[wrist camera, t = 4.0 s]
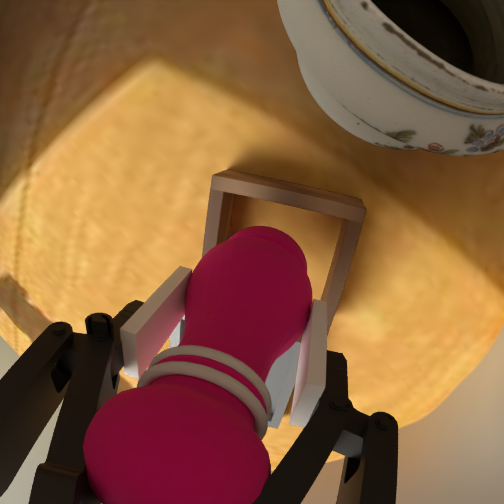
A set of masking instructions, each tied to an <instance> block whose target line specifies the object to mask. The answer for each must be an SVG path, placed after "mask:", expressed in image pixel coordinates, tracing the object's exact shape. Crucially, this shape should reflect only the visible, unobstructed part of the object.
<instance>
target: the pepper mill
mask: <svg viewBox="0 0 504 504" xmlns="http://www.w3.org/2000/svg"><path fill="white" fill-rule="evenodd" d="M311 307H312V288H311V284H310V280H309V277H308V275H307V263H306V259H305V256H304V253H303V251H302V250H301V248H300V247H299V245H298V244H297V243H296V242H295V241H294V240H293V239H292V238H291V237H290V236H289V235H287V234H286V233H284V232H282V231H280V230H278V229H275V228H272V227H266V226H253V227H248V228H245V229H242V230H240V231H238V232H236V233H235V234H234V235H232V236H231V237H230V238H229V239H228V240H227V241H225V242H223V243H220V244H218V245H216V246H215V247H213V248H212V249H210V250H209V251H208V252H207V253H206V254H205V255H204V256H203V257H202V259H201V260H200V261H199V263H198V264H197V266H196V268H195V269H194V271H193V273H192V275H191V277H190V280H189V283H188V287H187V291H186V295H185V329H184V333H183V337H182V339H181V341H180V343H179V345H178V346H176V347H172V348H169V349H166V350H164V351H162V352H161V353H159V354H158V355H157V356H156V357H155V358H154V359H153V360H152V361H151V363H150V365H149V367H148V369H147V370H146V371H145V372H144V373H143V374H142V375H141V377H140V379H139V382H138V384H137V388H133V389H130V390H126V391H122V392H120V393H118V394H117V395H115V396H113V397H111V398H110V399H109V400H108V401H107V402H106V403H105V404H104V405H103V406H102V407H101V408H100V409H99V410H98V411H97V412H96V413H95V415H94V417H93V419H92V421H91V423H90V425H89V427H88V429H87V431H86V434H85V439H84V444H83V451H84V458H85V464H86V472H87V477H88V481H89V485H90V488H91V489H92V491H93V492H94V494H95V495H96V497H97V498H98V499H99V501H100V502H101V503H102V504H252V503H253V502H254V501H255V500H256V499H257V497H258V496H259V495H260V493H261V491H262V488H263V486H264V483H265V482H266V481H267V479H268V478H269V477H270V476H271V464H270V459H269V454H268V452H267V450H266V448H265V446H264V444H263V443H262V441H261V440H262V439H263V437H264V436H265V434H266V431H267V427H268V418H269V416H270V414H271V410H272V401H271V396H270V393H269V390H268V389H267V387H266V385H265V382H266V379H267V377H268V374H269V371H270V369H271V367H272V365H273V364H274V362H275V360H276V359H278V358H279V357H280V356H281V355H283V354H284V353H285V352H286V351H288V350H289V349H290V348H291V347H292V346H293V345H294V344H295V342H296V341H297V340H298V339H299V337H300V336H301V334H302V333H303V331H304V329H305V327H306V325H307V322H308V318H309V315H310V310H311Z"/></svg>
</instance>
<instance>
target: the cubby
mask: <svg viewBox="0 0 504 504" xmlns="http://www.w3.org/2000/svg"><path fill="white" fill-rule="evenodd" d="M235 194H238V195H243V196H248V197H253V198H257V199H262V200H266V201H271V202H276V203H280V204H284V205H289V206H293V207H298V208H302V209H306V210H310V211H315V212H319V213H323V214H327V215H331V216H335V217H339V218H343V223H342V227H341V230H340V234H339V238H338V242H337V245H336V249H335V253H334V256H333V260H332V263H331V267H330V270H329V274H328V277H327V281H326V284H325V287H324V291H323V294H322V297H321V301H324V302H327V335H328V332H329V329H330V326H331V323H332V321H333V318H334V315H335V312H336V309H337V306H338V303H339V300H340V297H341V294H342V291H343V288H344V285H345V282H346V279H347V275H348V272H349V269H350V266H351V262H352V259H353V256H354V252H355V249H356V246H357V242H358V239H359V235H360V232H361V228H362V224H363V221H364V217H365V213H366V208H365V206H364V204H363V202H362V200H361V199H357V198H353V197H349V196H345V195H341V194H337V193H333V192H329V191H325V190H321V189H317V188H312V187H308V186H304V185H299V184H295V183H290V182H286V181H281V180H276V179H272V178H267V177H262V176H257V175H252V174H247V173H242V172H236V171H231V170H224V171H222V172H219V173H217V174H214V175H212V180H211V188H210V195H209V203H208V211H207V219H206V227H205V235H204V244H203V253H202V257H203V256H204V255H205V254H206V253H207V252H208V251H209V250H210V249H212V248H213V247H215V246H216V245H218V244H220V243H223V242H225V241H227V240H228V236H229V229H230V222H231V216H232V209H233V203H234V196H235Z"/></svg>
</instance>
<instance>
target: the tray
mask: <svg viewBox="0 0 504 504" xmlns="http://www.w3.org/2000/svg"><path fill="white" fill-rule="evenodd" d="M184 329H185V315H184V316H183V318H182V319H181V321H180V322H179V324H178V325H177V326H176V328H175V329H174V331H173V332H172V333H171V335H170V348H172V347H176V346H178V345H179V343H180V341H181V339H182V337H183V333H184ZM303 333H304V331H303ZM303 333H302V334H301V336H300V337H299V339H298V340H297V341H296V342H295V344H294V345H293V346H292V347H291V348H290V349H289V350H288V351H286V352H285V353H284V354H283V355H281V356H280V357H279V358H278V359H276V360H275V362H274V364H273V365H272V367H271V369H270V371H269V374H268V377H267V379H266V382H265V385H266V387H267V389H268V390H269V393H270V396H271V401H272V410H271V414H270V416H269V418H268V427H272V428H277V429H278V427H279V424H280V422H281V419H282V417H283V414H284V412H285V409H286V407H287V404H288V401H289V399H290V396H291V393H292V391H293V388H294V385H295V383H296V377H297V370H298V362H299V355H300V348H301V340H302V336H303Z"/></svg>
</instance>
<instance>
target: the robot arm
mask: <svg viewBox="0 0 504 504" xmlns="http://www.w3.org/2000/svg"><path fill="white" fill-rule="evenodd" d="M191 275H192V269H189V268H185V267H181V266H180V267H179V268H178V269H177V270H176V271H175V272H174V273H173V274H172V275H171V276H170V277H169V278H168V279H167V280H166V281H165V282H164V283H163V284H162V285H161V286H160V287H159V288H158V289H157V290H156V291H155V292H154V293H153V294H152V295H151V296H150V297H149V299H148V300H147V301H146V302H145V303H144V302H141V301H138V300H135V301H133V302H131V303H128V304H127V305H126V306H125V307H124V308H123V310H121V311H120V312H119V313H118V314H117V315H116V316H115V317H114V318H113V319H112V317H111V316H110V315H108V314H105V313H94V314H91V315H89V316H87V318H86V319H85V324H86V330H87V334H82V333H75V332H73V330H72V327H71V325H70V324H68V323H66V322H55V323H52V324H51V325H50V326H48V327H47V328H46V329H45V330H44V332H43V333H42V334H41V335H40V336H39V337H38V338H37V339H36V340H35V341H34V342H33V343H32V344H31V346H30V347H29V348H28V349H27V350H26V351H25V352H24V353H23V354H22V355H21V357H20V358H19V359H18V360H17V361H16V362H15V364H14V365H13V366H12V367H11V368H10V369H9V370H8V372H7V373H6V374H5V375H4V376H3V377H2V378H1V380H0V497H1V496H2V495H3V493H4V492H5V491H6V490H7V489H8V487H9V485H10V484H11V482H12V481H13V479H14V477H15V476H16V474H17V472H18V471H19V469H20V467H21V465H22V464H23V462H24V460H25V459H26V457H27V455H28V454H29V452H30V450H31V449H32V447H33V445H34V444H35V442H36V440H37V439H38V437H39V436H40V434H41V433H42V431H43V429H44V427H45V426H46V425H47V423H48V422H49V420H50V418H51V417H52V415H53V414H54V412H55V411H56V409H57V408H58V406H59V405H60V403H61V401H62V400H63V399H64V400H63V403H62V407H61V409H60V413H59V416H58V420H57V422H56V426H55V429H54V433H53V436H52V440H51V444H50V447H49V451H48V455H47V459H46V461H45V463H42V464H39V465H38V467H37V469H36V473H35V477H34V481H33V485H32V490H31V495H30V500H29V504H101V502H100V501H99V499H98V498H97V497H96V495H95V494H94V492H93V491H92V489H91V488H90V485H89V481H88V477H87V472H86V464H85V458H84V451H83V444H84V439H85V434H86V431H87V429H88V427H89V425H90V423H91V421H92V419H93V417H94V415H95V413H96V412H97V411H98V410H99V409H100V408H101V407H102V406H103V405H104V404H105V403H106V402H107V401H108V400H109V399H110V398H111V397H113V396H115V395H116V394H117V389H118V384H119V379H120V375H119V371H120V370H121V369H122V367H123V366H124V373H125V374H126V375H128V376H131V377H133V378H136V379H138V380H139V379H140V377H141V375H142V374H143V373H144V372H145V370H146V369H147V367H148V366H149V365H150V363H151V361H152V360H153V359H154V357H155V356H156V355H157V353H158V352H159V350H160V349H161V348H162V346H163V345H164V343H165V342H166V340H167V339H168V338H169V336H170V335H171V333H172V332H173V331H174V329H175V328H176V326H177V325H178V324H179V322H180V321H181V319H182V318H183V316H184V315H185V295H186V291H187V287H188V283H189V280H190V277H191ZM289 424H290V425H295V426H300V427H305V428H304V429H303V431H302V432H301V434H300V435H299V436H298V438H297V439H296V441H295V442H294V444H293V445H292V447H291V448H290V449H289V451H288V452H287V454H286V455H285V456H284V458H283V459H282V461H281V462H280V463H279V465H278V466H277V467H276V469H275V470H274V472H273V473H272V474H271V476H270V477H269V478H268V479H267V481H266V482H265V483H264V486H263V488H262V491H261V493H260V495H259V496H258V497H257V499H256V500H255V501H254V502H253V503H252V504H301V502H302V500H303V499H304V497H305V495H306V494H307V493H308V491H309V489H310V487H311V486H312V484H313V483H314V481H315V479H316V478H317V476H318V474H319V473H320V471H321V469H322V467H323V466H324V464H325V462H326V460H327V459H328V457H329V455H330V453H331V451H332V450H333V451H335V452H338V453H340V454H342V455H345V459H344V465H343V471H342V476H341V482H340V487H339V492H338V496H337V501H336V504H395V503H396V489H397V488H396V487H397V468H398V467H397V466H398V424H397V421H396V420H395V418H394V417H393V416H391V415H390V414H388V413H385V412H376V413H373V414H372V415H371V416H368V415H366V414H363V413H361V412H359V411H357V410H356V409H355V408H354V407H353V405H352V402H351V401H350V400H349V398H348V376H347V360H346V359H345V357H344V355H343V353H338V352H333V351H328V350H327V302H324V301H320V300H316V299H314V300H313V303H312V307H311V310H310V315H309V318H308V322H307V325H306V327H305V329H304V333H303V336H302V340H301V348H300V355H299V362H298V370H297V377H296V383H295V390H294V397H293V403H292V409H291V415H290V421H289Z"/></svg>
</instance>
